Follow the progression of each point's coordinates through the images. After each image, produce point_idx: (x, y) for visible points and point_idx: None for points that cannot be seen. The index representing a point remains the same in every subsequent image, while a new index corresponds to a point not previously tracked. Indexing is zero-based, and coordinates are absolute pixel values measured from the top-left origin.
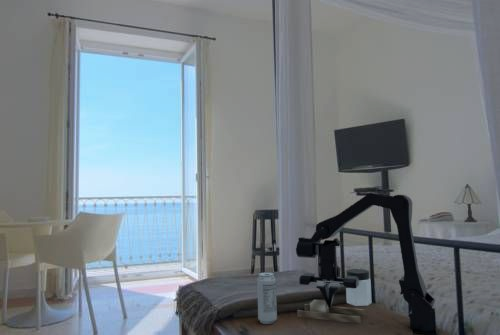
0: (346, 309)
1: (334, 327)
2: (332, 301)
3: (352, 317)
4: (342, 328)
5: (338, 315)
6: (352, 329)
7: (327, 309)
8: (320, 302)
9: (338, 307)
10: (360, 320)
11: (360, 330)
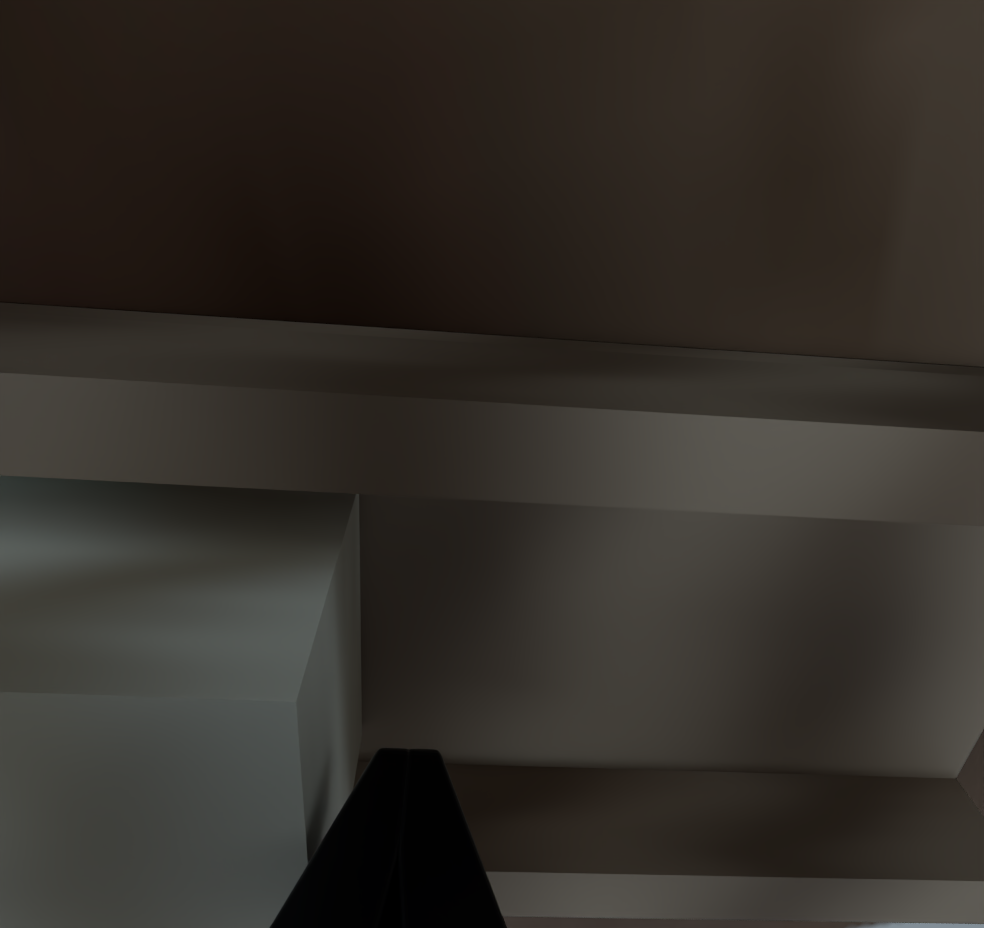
0: (818, 505)
1: (561, 920)
2: (483, 885)
3: (871, 904)
4: (664, 923)
5: (631, 910)
6: (789, 921)
7: (342, 661)
8: (117, 884)
9: (605, 477)
10: (978, 816)
11: (885, 923)
